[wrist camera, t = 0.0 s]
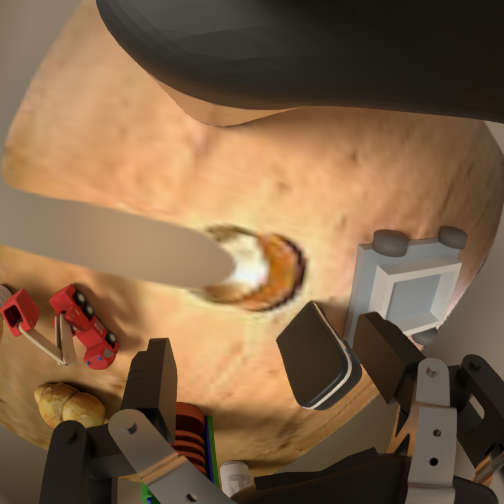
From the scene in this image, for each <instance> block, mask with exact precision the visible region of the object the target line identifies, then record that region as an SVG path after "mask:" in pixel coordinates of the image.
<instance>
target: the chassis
mask: <svg viewBox="0 0 504 504" xmlns="http://www.w3.org/2000/svg"><path fill="white" fill-rule="evenodd" d="M466 239H467V234H466V233H465V232H464V231H462V230H460V229H457V228H454V227H448V226H443V227H441V229H440V234H439V238H431V239H419V240H409V238H408V237H407V236H406V235H404V234H402V233H400V232H396V231H392V230H378V231H376V232H375V233H374V239H373V244H362V245H358V252H357V260H356V267H355V273H354V280H353V286H352V292H351V298H350V303H349V309H348V314H347V319H346V324H345V329H344V334H343V338H342V339H344V340H345V341H347V342H348V344H349V345H350V347H352V350H353V352H354V349H353V339H354V335H355V330H356V325H357V320H358V317H359V315H360V314H364V313H369V312H373V311H376V312H378V313H379V314H380V315H381V316H382V318H383V319H384V320H388V321H390V322H392V323H393V324H395V325H397V326H398V327H399V329H400V330H401V331H402V332H403V334H405V335H406V336H409V335H412V339H413V340H414V341H415V342H416V343H418V344H420V345H424V346H427V345H431V344H432V343H433V342H434V339H435V337H436V334H437V329H436V326H439V325H442V323H443V320H444V318H445V315H446V312H447V309H448V307H449V304H450V301H451V298H452V295H453V292H454V289H455V286H456V282H457V279H458V276H459V272H460V269H461V265H462V262H460V261H459V260H457V259H458V255H459V251H460V249H464V248H465V244H466ZM354 354H355V353H354ZM356 357H357V356H356ZM357 359H358V358H357ZM358 361H359V359H358ZM359 363H360V364H361V362H360V361H359Z"/></svg>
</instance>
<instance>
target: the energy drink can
mask: <svg viewBox="0 0 504 504" xmlns="http://www.w3.org/2000/svg"><path fill="white" fill-rule="evenodd" d="M220 473H221V481H222V489H223V492H224V493H225V494H226V495H227V496H228V497H231V496H232V495H233V494H235V493H236V492H238V491H240V490H242V489H244V488H246V487H248V486H250V485H252V484H251V479H250V474H249V469H248V466H247V465H246V464H245V463H244V462H242V461H229V462H226V463H224V464H223V465H222V467H221V468H220Z"/></svg>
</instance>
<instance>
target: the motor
mask: <svg viewBox="0 0 504 504" xmlns="http://www.w3.org/2000/svg"><path fill="white" fill-rule="evenodd" d="M178 416H181V417H178ZM170 446H171V447H172V448H173V449H174V450H175V451H176V452H177V453H178V454H180V455H183V456H184V457H185V458H187V459H188V460H189V461H190V462H191V463H192V464H193V465H194V466H195V467H196V468H197V469H198V470H199V471H200V472H201V473H202V474H203V475H204V476H205V477H207V478H208V479H209V480H210V481H211V482H212V483H213V484H214V485H215V486H217V487H218V488H219V489H220V486H219V478H218V469H217V461H216V452H215V442H214V432H213V422H212V416H208V418H205V421H204V414H203V412H202V411H201V410H200V409H199V408H197V407H196V406H194V405H191V404H188V403H183V402H176V429H175V444H170ZM141 496H142V497H141V499H142V501H143V502H144V503H146V504H161V503H160V502H159V500H158V499H157V498H156V497H155V496H154V495H153V493H152V492H151V491H150V490H149V489H148V487H147V486H146V485H145V484H144V482H143V481H142V495H141Z"/></svg>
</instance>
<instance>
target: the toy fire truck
mask: <svg viewBox="0 0 504 504" xmlns="http://www.w3.org/2000/svg"><path fill="white" fill-rule="evenodd" d="M75 291H76V289H75V288H74V286H73V285H72V284H70V285H68V286H66V287H65V288H63V289H61V290H60V291H58V292H56V293H55V294H54V296H53V297H52V298H51V299H50V300H49V302H50V304H51V305H52V306H53V308H54V309H55V311H56V312H57V314H56V316H55V317H54V319H53V321H52V324H53V326H54V327H55V343H56V346H55V345H54V344H53V343H51V342H50V341H49V340H48V339H46V338H45V337H44V336H43V335H42V334H40V333H39V332H38V331H37V330H36V329H34V327H35V325H36V323H37V320H38V318H39V315H40V313H41V311H40V309H39V308H38V306H37V305H36V304H35V302H34V301H33V300H32V299H31V297H30V296H29V295H28V293H27V292H26V290H25V289H24V288H23V289H21V290H19V291H18V292H17V293H15V294H14V295H12V296H11V297H10V298H8V299H7V301H6V302H5V303H4V305H3V306H2V307H1V309H0V311H1V313H2V315H3V317H4V319H5V321H6V323H7V325H8V327H9V329H10V331H11V332H12V334H13V336H15V337H17V336H19V335H21V334H24V335H25V336H26V337H27V338H28V339H30V340H31V341H32V342H33V343H35V344H36V345H37V346H38V347H40V348H41V349H42V350H44V351H45V352H46V353H47V354H49V355H50V356H51V357H53V358H54V359H56V360H57V362H58V364H59V365H61V366H71V365H74V364H77V358H76V354H75V349H74V344H73V338H72V337H73V336H75V335H76V336H77V338H78V339H79V340H80V341H81V342H82V343H83V345H84V346H85V347H86V348H87V351H86V353H85V356H84V359H83V361H84V362H85V364H87V366H89V367H90V368H91V369H95V370H102V369H106V368H108V367H109V366H110V365H111V364H112V363H113V361H114V359H115V357H116V354H117V351H118V348H119V344H118V343H117V342H116V337H115V335H114V334H113V333H112V332H109V333H107V330H106V329H105V327H104V326H103V325H102V324H101V322H100V321H99V320H98V319H97V317H96V316H95V315H93V308H92V306H91V305H89V304H86V305H84V306H83V304H84V302H85V297H84V295H83V294H82V293H81V292H77V293H76V294H75Z"/></svg>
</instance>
